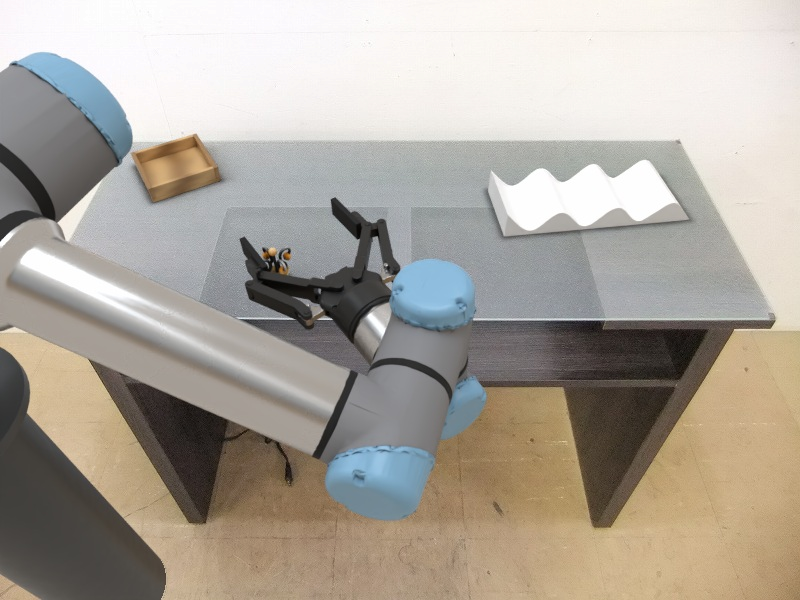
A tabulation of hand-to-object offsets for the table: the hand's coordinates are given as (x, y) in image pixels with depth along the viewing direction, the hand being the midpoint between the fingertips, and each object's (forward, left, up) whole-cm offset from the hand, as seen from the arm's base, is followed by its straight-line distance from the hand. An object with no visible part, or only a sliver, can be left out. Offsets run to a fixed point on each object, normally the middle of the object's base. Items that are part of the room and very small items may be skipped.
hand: (290, 224), depth 80 cm
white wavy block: (+57, -1, -20) cm, 61 cm away
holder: (-7, +49, -20) cm, 53 cm away
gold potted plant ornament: (-1, +10, -20) cm, 22 cm away
